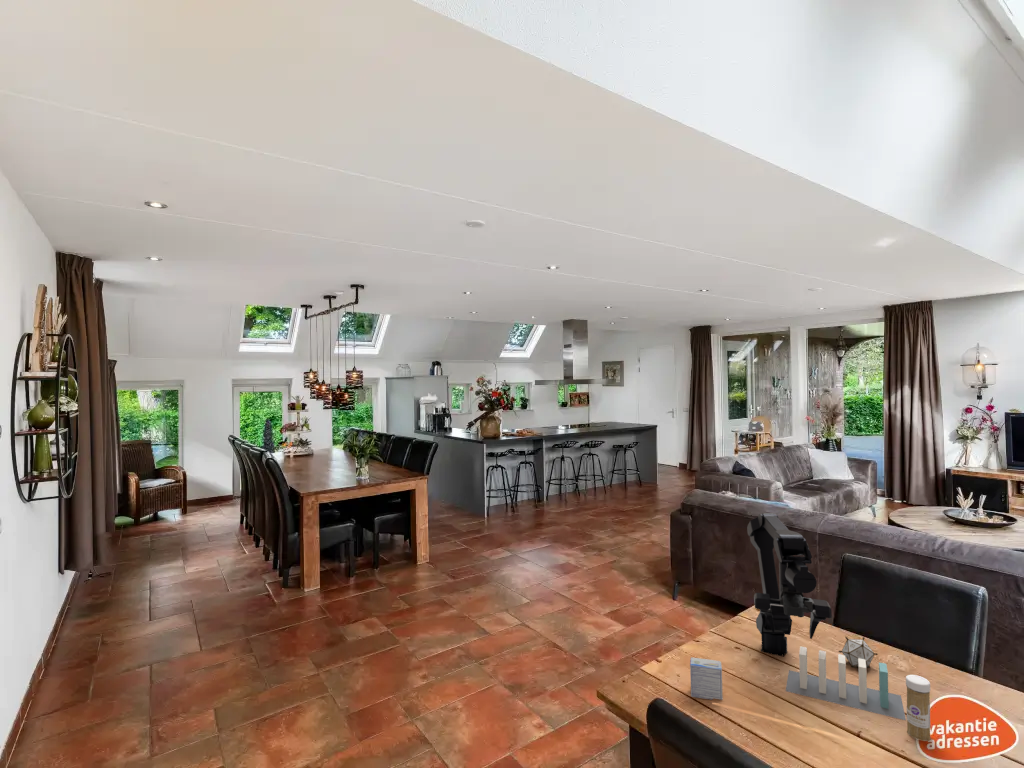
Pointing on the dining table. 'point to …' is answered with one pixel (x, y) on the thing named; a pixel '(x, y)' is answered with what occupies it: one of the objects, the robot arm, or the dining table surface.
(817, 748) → the dining table surface
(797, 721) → the dining table surface
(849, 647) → the game die
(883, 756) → the dining table surface
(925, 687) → the sprinkles bottle
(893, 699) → the slate mat
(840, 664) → the domino
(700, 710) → the dining table surface
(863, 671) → the domino
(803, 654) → the domino
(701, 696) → the medicine box
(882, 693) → the domino
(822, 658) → the domino
